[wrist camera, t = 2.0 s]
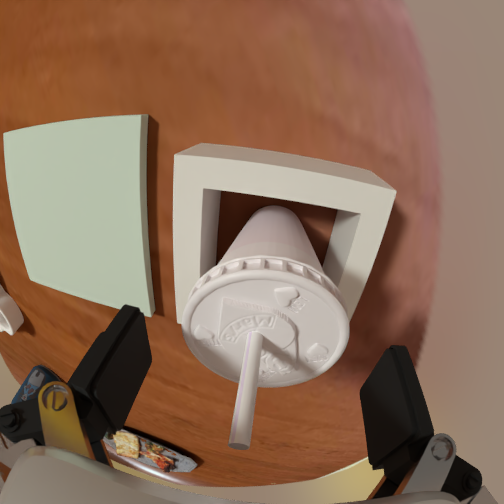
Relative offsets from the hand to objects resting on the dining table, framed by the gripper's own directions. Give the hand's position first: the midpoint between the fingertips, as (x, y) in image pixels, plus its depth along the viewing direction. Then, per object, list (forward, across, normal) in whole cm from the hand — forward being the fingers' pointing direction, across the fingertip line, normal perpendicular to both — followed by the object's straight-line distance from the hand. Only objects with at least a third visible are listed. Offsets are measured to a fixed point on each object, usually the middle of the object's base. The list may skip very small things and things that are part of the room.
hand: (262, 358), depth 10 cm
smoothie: (+10, 0, -1) cm, 10 cm away
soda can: (+11, +35, +33) cm, 50 cm away
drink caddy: (+10, 0, -1) cm, 10 cm away
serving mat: (+10, +17, 0) cm, 20 cm away
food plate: (+12, +19, +54) cm, 59 cm away
